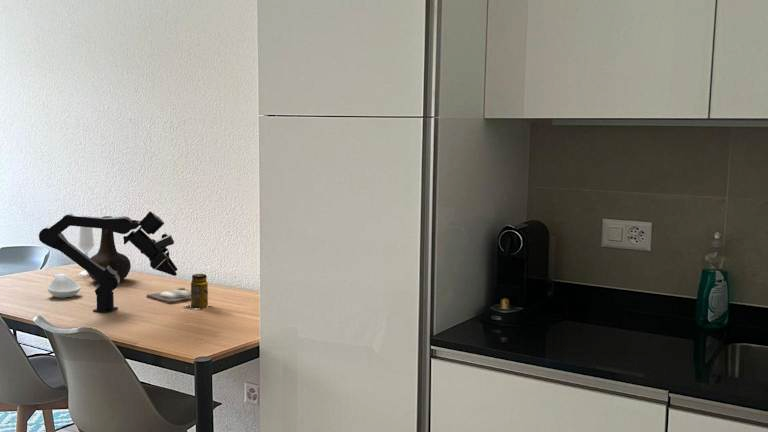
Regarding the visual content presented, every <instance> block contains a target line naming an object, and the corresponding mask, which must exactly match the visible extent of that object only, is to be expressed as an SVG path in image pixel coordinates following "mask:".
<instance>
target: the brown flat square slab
mask: <svg viewBox="0 0 768 432" xmlns="http://www.w3.org/2000/svg"><path fill="white" fill-rule="evenodd" d="M146 298H147V299H151V300H154V301H157V302H161V303H165V304H168V305H172V304H177V303H178V304H179V303H182V302H188V301H191V290H189V289H188V290H187V289H186V288H185V287H176V288H174V290H166V291H161V292H156V293H150V294H146Z"/></svg>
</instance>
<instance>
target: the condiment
mask: <svg viewBox="0 0 768 432" xmlns="http://www.w3.org/2000/svg"><path fill="white" fill-rule="evenodd" d="M191 278H192V279H191V283H190V291H191V300H190V305H186V306H183V309H189V310H194V311H199V310H202V309H205V308H204V307H207V306H208V305H209V303H208V302H209V293H208V292H209V289H208V286H209V285H208V284H209V283H208V281H207V278H208V277H207V274H205V273H195V274H192V276H191ZM190 306H191V307H190ZM195 308H197V309H195ZM198 308H200V309H198ZM201 308H202V309H201ZM207 308H208V307H207Z"/></svg>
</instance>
